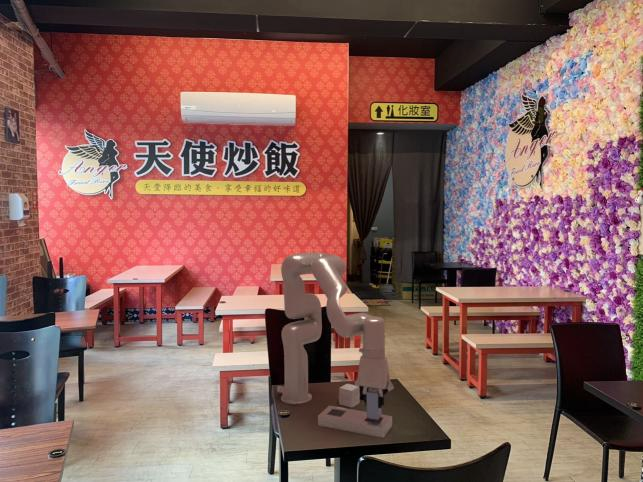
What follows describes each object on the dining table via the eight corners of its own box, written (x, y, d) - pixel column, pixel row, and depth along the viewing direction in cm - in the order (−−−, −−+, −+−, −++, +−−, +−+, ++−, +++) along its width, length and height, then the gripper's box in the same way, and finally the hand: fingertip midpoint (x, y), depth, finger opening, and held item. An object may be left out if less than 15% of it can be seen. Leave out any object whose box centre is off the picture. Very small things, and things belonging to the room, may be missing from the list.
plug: (366, 417, 161) (366, 390, 160) (370, 413, 164) (370, 386, 164) (377, 419, 159) (377, 392, 159) (381, 415, 163) (381, 388, 162)
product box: (347, 401, 189) (347, 383, 189) (360, 404, 186) (360, 386, 186) (338, 405, 184) (338, 387, 184) (351, 409, 181) (351, 390, 181)
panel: (318, 426, 165) (317, 415, 165) (329, 416, 175) (329, 405, 174) (383, 439, 155) (383, 427, 155) (392, 427, 165) (392, 415, 164)
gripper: (347, 353, 161) (347, 406, 162) (394, 358, 154) (394, 413, 155) (354, 348, 168) (355, 398, 169) (400, 353, 161) (400, 405, 162)
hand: (374, 405), depth 162 cm, fingers closed on plug, 4 cm apart
